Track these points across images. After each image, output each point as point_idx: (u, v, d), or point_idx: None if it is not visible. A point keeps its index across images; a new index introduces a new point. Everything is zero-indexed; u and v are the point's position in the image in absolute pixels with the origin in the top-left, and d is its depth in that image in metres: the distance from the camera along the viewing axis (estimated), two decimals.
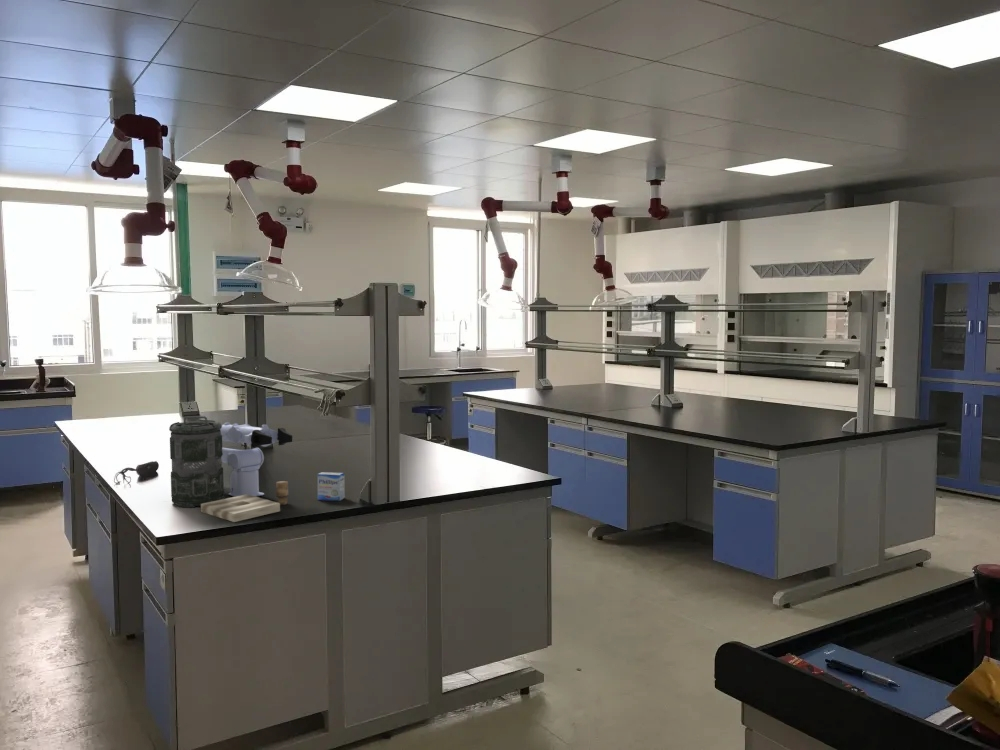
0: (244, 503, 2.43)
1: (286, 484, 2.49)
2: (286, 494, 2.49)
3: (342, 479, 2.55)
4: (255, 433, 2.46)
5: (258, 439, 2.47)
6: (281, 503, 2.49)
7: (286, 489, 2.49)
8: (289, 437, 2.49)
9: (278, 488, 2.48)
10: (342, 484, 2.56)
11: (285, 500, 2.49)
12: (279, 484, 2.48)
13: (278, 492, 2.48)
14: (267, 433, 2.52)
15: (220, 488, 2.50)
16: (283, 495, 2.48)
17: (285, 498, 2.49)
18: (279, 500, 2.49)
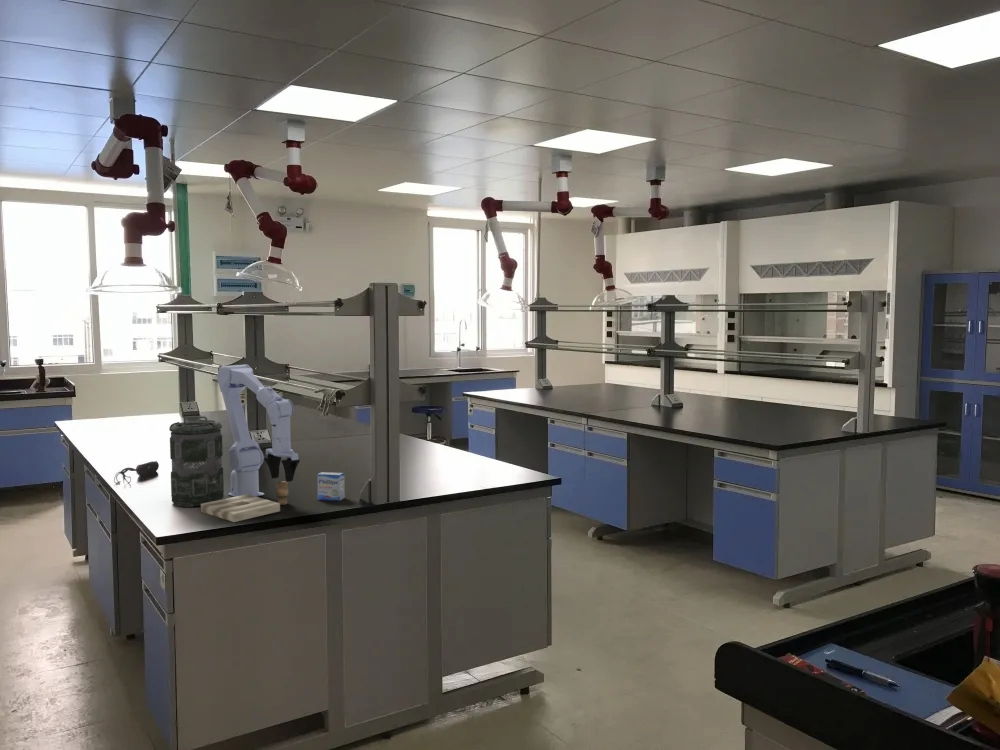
0: (244, 503, 2.43)
1: (286, 484, 2.49)
2: (286, 494, 2.49)
3: (342, 479, 2.55)
4: (297, 463, 2.47)
5: (289, 463, 2.46)
6: (281, 503, 2.49)
7: (286, 489, 2.49)
8: (276, 476, 2.52)
9: (278, 488, 2.48)
10: (342, 484, 2.55)
11: (285, 500, 2.49)
12: (279, 484, 2.48)
13: (278, 492, 2.48)
14: None
15: (220, 488, 2.50)
16: (283, 495, 2.48)
17: (285, 498, 2.49)
18: (279, 500, 2.49)
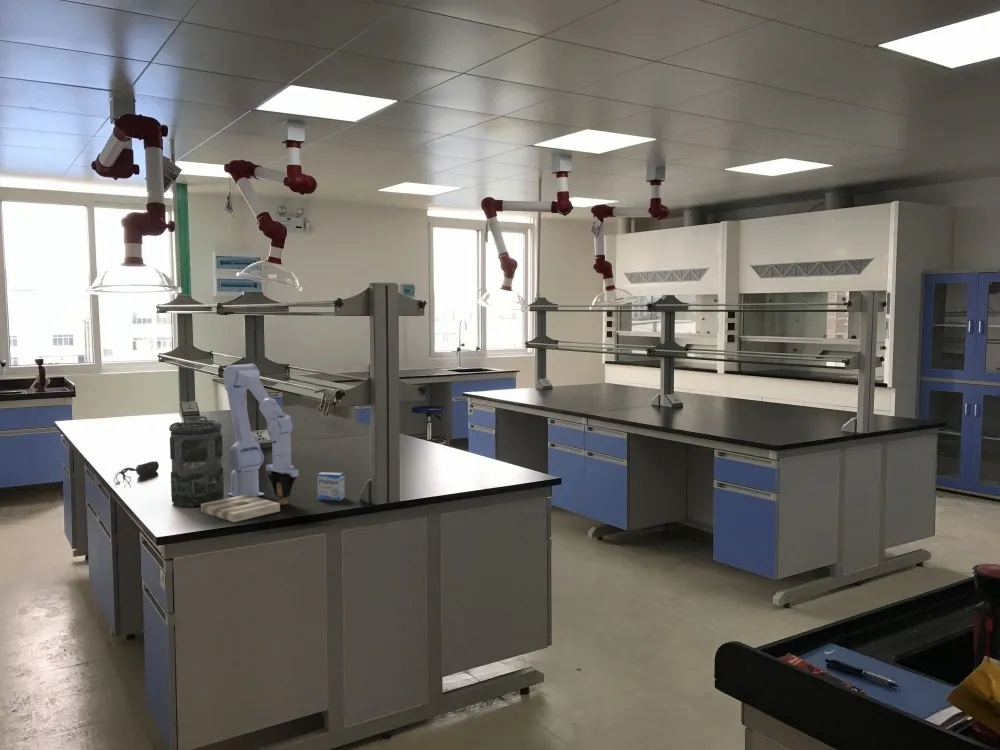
0: (244, 503, 2.43)
1: None
2: None
3: (342, 479, 2.55)
4: (294, 479, 2.48)
5: (286, 478, 2.47)
6: (281, 503, 2.49)
7: None
8: None
9: (278, 488, 2.48)
10: (342, 484, 2.55)
11: (285, 500, 2.49)
12: (279, 484, 2.48)
13: (278, 492, 2.48)
14: None
15: (220, 488, 2.50)
16: None
17: (285, 498, 2.49)
18: (279, 500, 2.49)
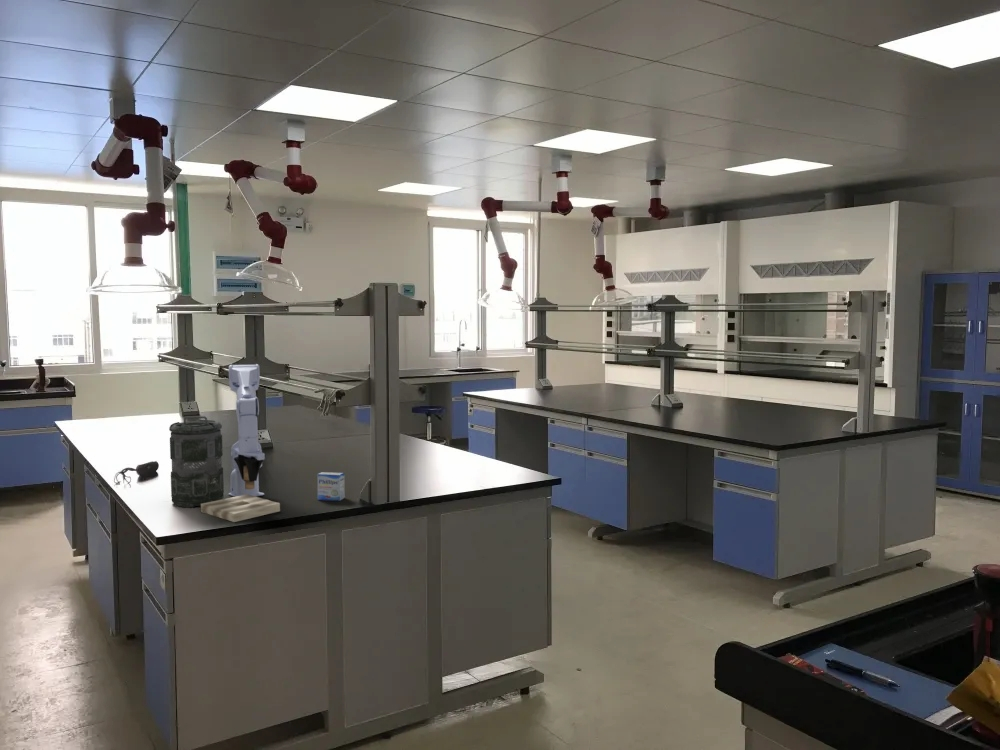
0: (244, 503, 2.43)
1: None
2: None
3: (342, 479, 2.55)
4: (261, 462, 2.40)
5: (252, 462, 2.39)
6: (248, 487, 2.40)
7: None
8: None
9: (245, 472, 2.40)
10: (342, 484, 2.55)
11: (252, 484, 2.41)
12: (246, 468, 2.40)
13: (245, 476, 2.40)
14: None
15: (220, 488, 2.50)
16: None
17: (252, 482, 2.41)
18: (246, 484, 2.41)
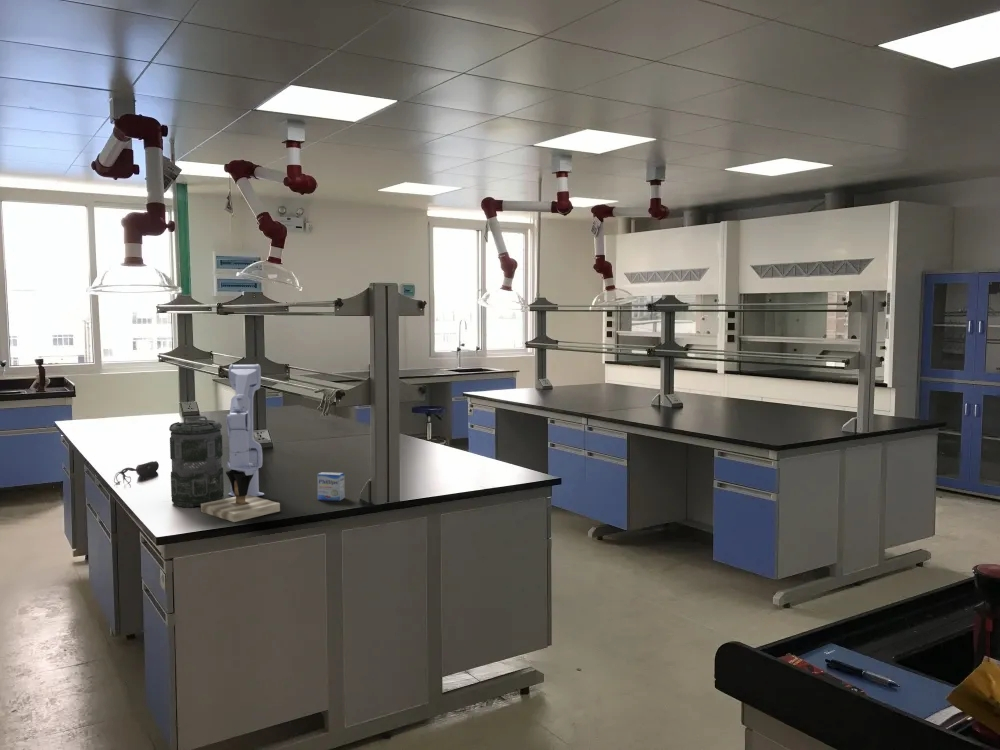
0: (244, 503, 2.43)
1: None
2: None
3: (342, 479, 2.55)
4: (250, 477, 2.38)
5: (242, 477, 2.37)
6: (238, 502, 2.39)
7: None
8: None
9: (235, 486, 2.38)
10: (342, 484, 2.56)
11: (242, 499, 2.39)
12: (236, 482, 2.38)
13: (235, 491, 2.38)
14: None
15: (220, 488, 2.50)
16: None
17: (242, 497, 2.39)
18: (236, 499, 2.39)
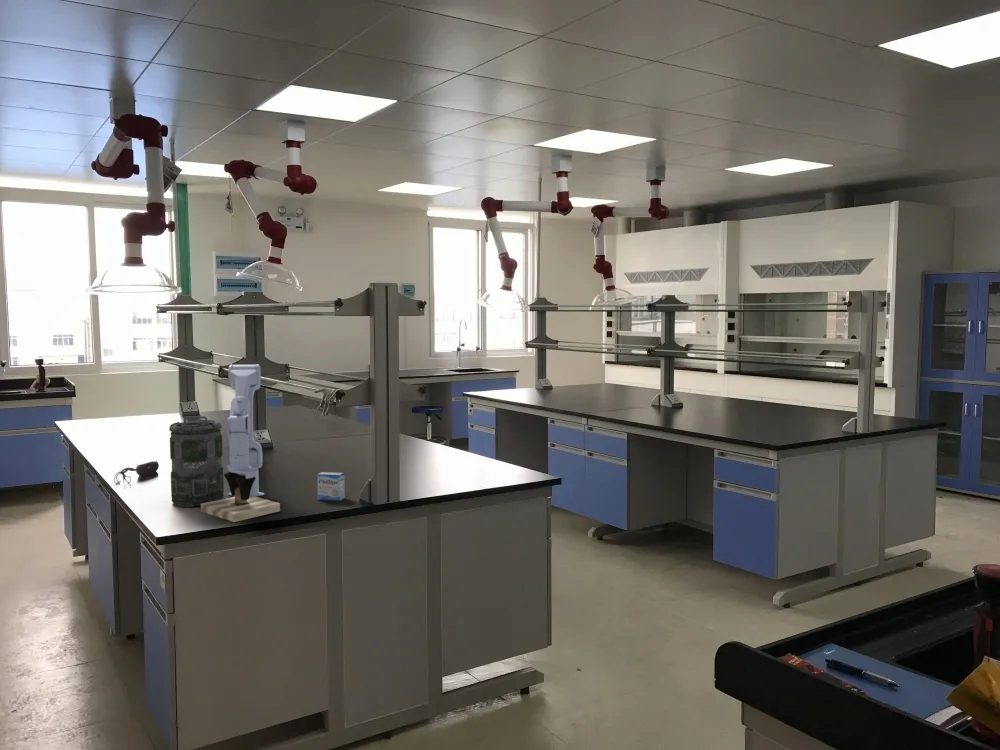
0: None
1: None
2: (244, 501, 2.39)
3: (342, 479, 2.55)
4: (252, 481, 2.37)
5: (244, 480, 2.36)
6: None
7: None
8: None
9: (235, 495, 2.39)
10: (342, 484, 2.55)
11: None
12: (236, 491, 2.38)
13: (235, 499, 2.39)
14: None
15: (220, 488, 2.50)
16: (240, 502, 2.38)
17: None
18: None
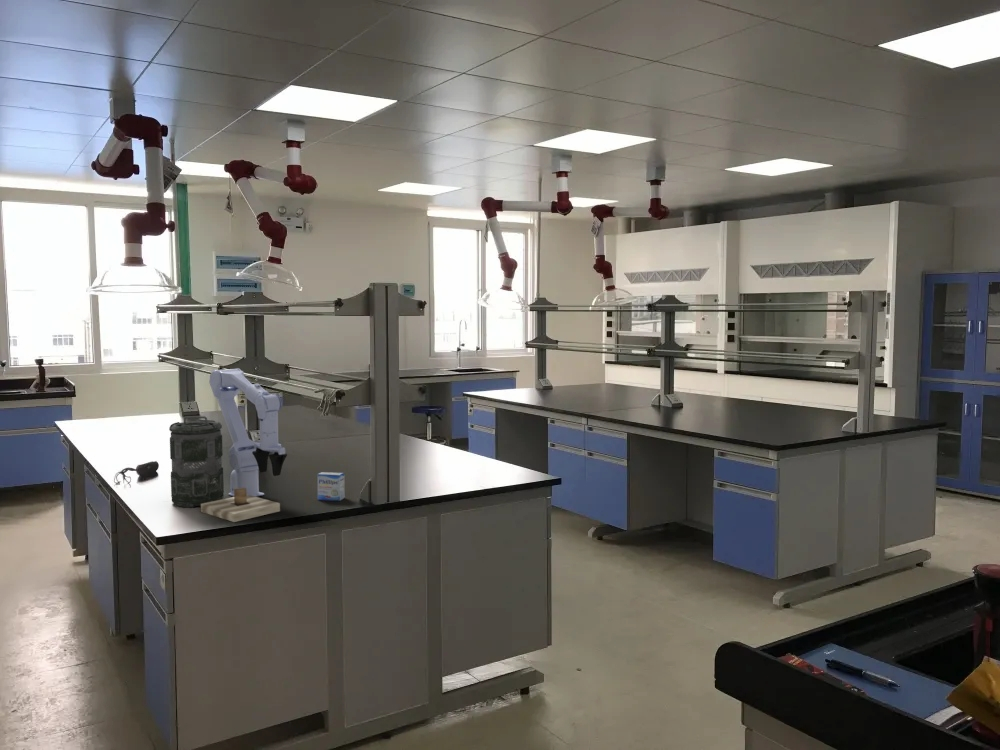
0: None
1: (243, 491, 2.39)
2: (243, 502, 2.39)
3: (342, 479, 2.55)
4: (284, 457, 2.48)
5: (276, 457, 2.48)
6: None
7: (243, 496, 2.39)
8: (264, 470, 2.54)
9: (235, 495, 2.38)
10: (342, 484, 2.55)
11: None
12: (236, 491, 2.38)
13: (235, 499, 2.39)
14: None
15: (220, 488, 2.50)
16: (240, 502, 2.38)
17: None
18: None
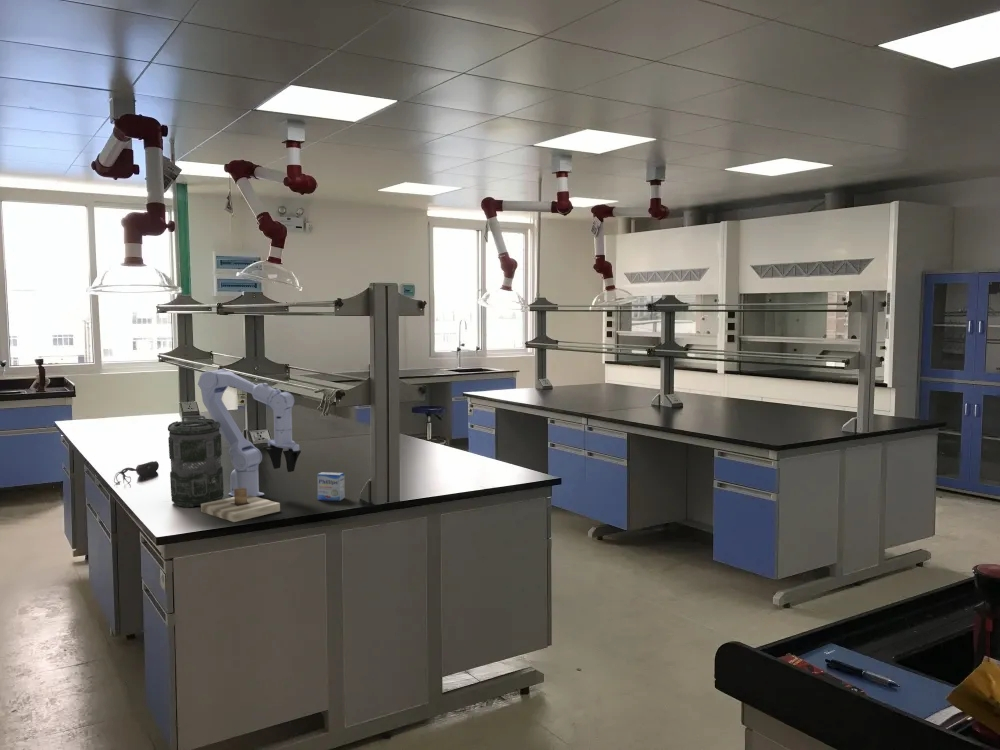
0: None
1: (243, 491, 2.39)
2: (243, 502, 2.39)
3: (342, 479, 2.55)
4: (298, 454, 2.54)
5: (290, 453, 2.53)
6: None
7: (243, 496, 2.39)
8: (278, 467, 2.59)
9: (235, 495, 2.38)
10: (342, 484, 2.56)
11: None
12: (236, 491, 2.38)
13: (235, 499, 2.39)
14: None
15: (220, 487, 2.50)
16: (240, 503, 2.38)
17: None
18: None
